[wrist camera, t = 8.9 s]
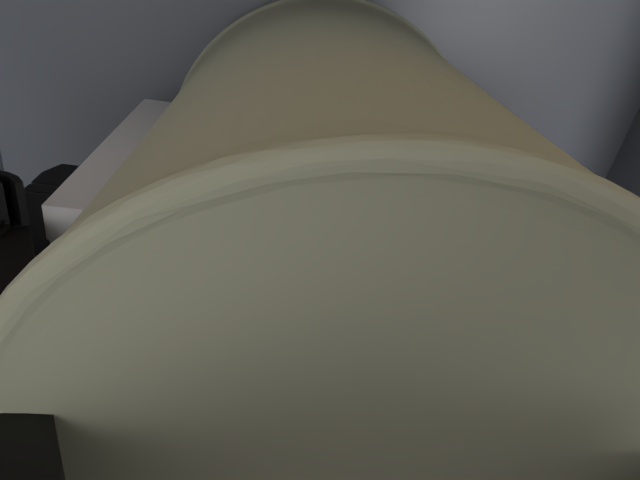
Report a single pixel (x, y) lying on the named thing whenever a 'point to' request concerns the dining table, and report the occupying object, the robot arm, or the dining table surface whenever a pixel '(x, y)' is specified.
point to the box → (232, 3)
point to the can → (336, 279)
